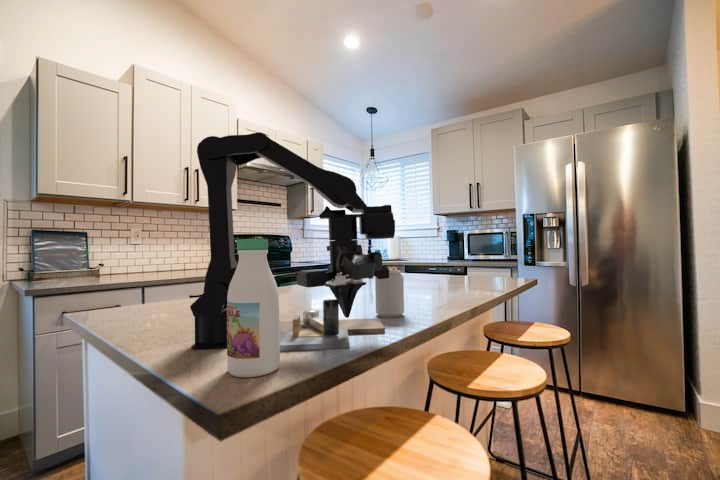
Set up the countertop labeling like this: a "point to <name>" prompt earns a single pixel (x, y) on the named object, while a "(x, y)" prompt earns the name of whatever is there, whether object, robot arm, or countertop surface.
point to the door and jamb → (311, 338)
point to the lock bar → (324, 318)
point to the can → (390, 295)
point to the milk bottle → (253, 313)
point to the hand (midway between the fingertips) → (346, 317)
